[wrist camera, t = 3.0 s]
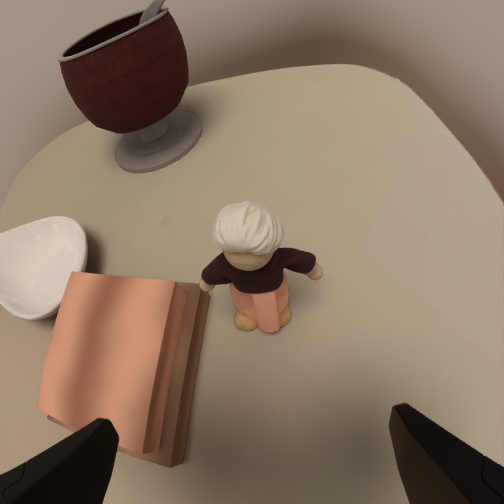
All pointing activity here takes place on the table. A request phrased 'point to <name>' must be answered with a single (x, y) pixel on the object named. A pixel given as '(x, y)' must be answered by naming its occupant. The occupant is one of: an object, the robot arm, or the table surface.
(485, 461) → the robot arm
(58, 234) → the spoon rest
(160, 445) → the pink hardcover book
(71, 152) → the table surface
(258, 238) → the grandmother figurine
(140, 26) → the mate gourd
